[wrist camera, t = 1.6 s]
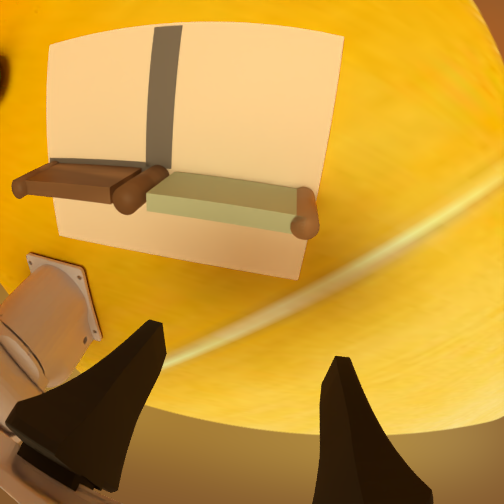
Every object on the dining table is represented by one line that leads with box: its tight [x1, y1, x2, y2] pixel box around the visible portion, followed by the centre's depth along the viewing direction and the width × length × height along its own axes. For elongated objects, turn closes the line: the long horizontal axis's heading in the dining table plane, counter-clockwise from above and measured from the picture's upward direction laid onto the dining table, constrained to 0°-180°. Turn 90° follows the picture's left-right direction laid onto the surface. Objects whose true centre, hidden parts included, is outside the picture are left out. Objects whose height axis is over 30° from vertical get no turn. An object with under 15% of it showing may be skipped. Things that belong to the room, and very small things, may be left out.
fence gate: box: [146, 172, 319, 240], centre depth 16 cm, size 9×1×4 cm, turn 83°
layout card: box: [46, 22, 344, 280], centre depth 17 cm, size 16×20×1 cm
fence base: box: [12, 161, 169, 215], centre depth 17 cm, size 2×11×4 cm, turn 83°
